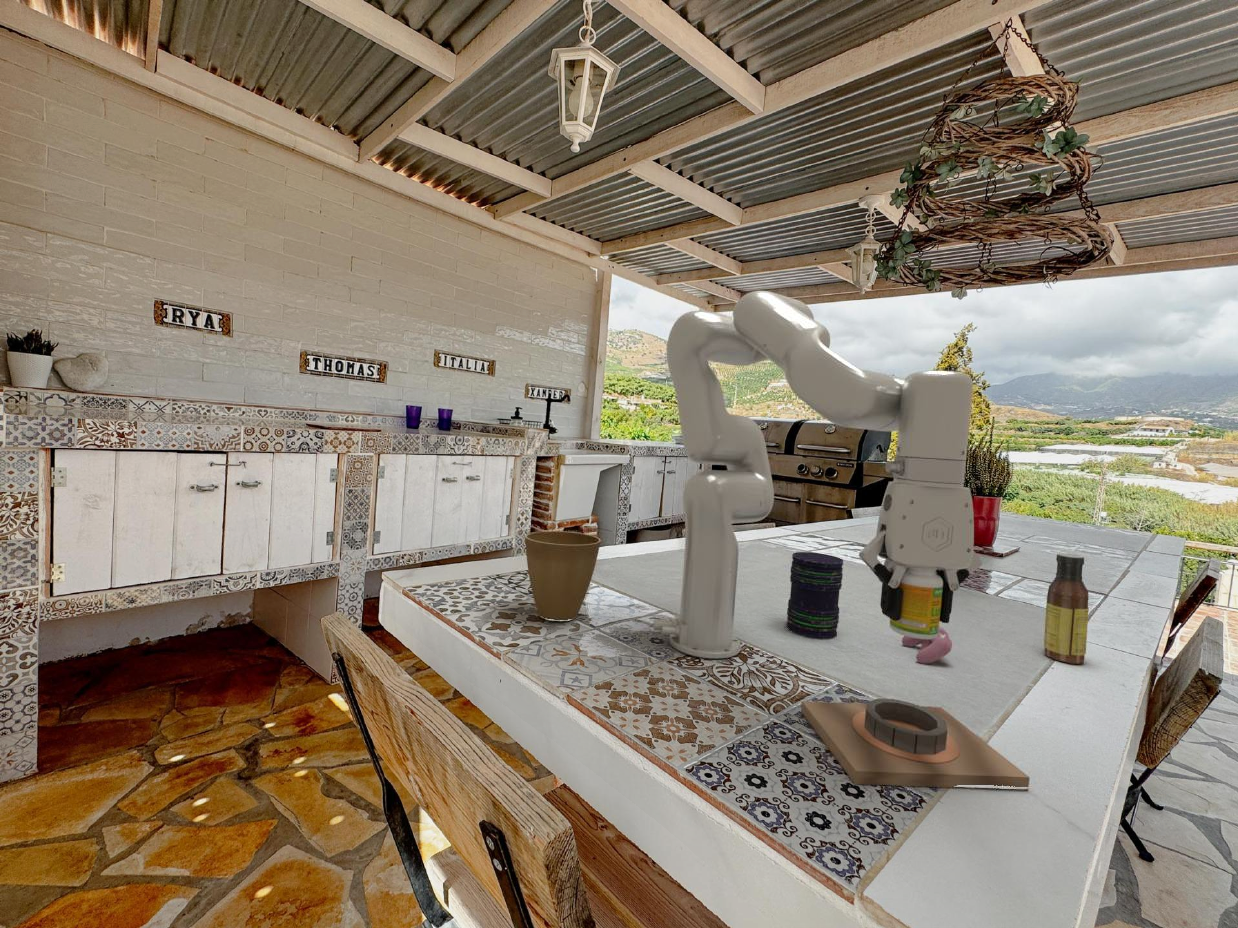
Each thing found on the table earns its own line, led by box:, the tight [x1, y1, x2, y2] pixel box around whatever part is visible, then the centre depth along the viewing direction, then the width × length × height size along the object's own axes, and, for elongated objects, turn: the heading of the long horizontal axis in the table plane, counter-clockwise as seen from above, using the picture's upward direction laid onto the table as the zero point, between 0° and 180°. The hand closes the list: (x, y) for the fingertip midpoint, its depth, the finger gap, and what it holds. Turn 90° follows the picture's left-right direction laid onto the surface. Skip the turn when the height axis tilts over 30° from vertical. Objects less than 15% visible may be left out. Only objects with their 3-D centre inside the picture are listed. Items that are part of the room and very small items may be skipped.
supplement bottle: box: [889, 567, 943, 639], centre depth 69 cm, size 5×5×10 cm
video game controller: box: [901, 626, 953, 665], centre depth 102 cm, size 10×5×7 cm, turn 169°
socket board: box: [800, 698, 1030, 788], centre depth 70 cm, size 20×16×4 cm
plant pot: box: [524, 530, 602, 620], centre depth 110 cm, size 15×15×16 cm
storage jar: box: [786, 551, 844, 640], centre depth 112 cm, size 10×10×15 cm
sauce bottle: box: [1043, 552, 1090, 665], centre depth 105 cm, size 7×6×20 cm
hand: (914, 616), depth 69 cm, fingers closed on supplement bottle, 5 cm apart
